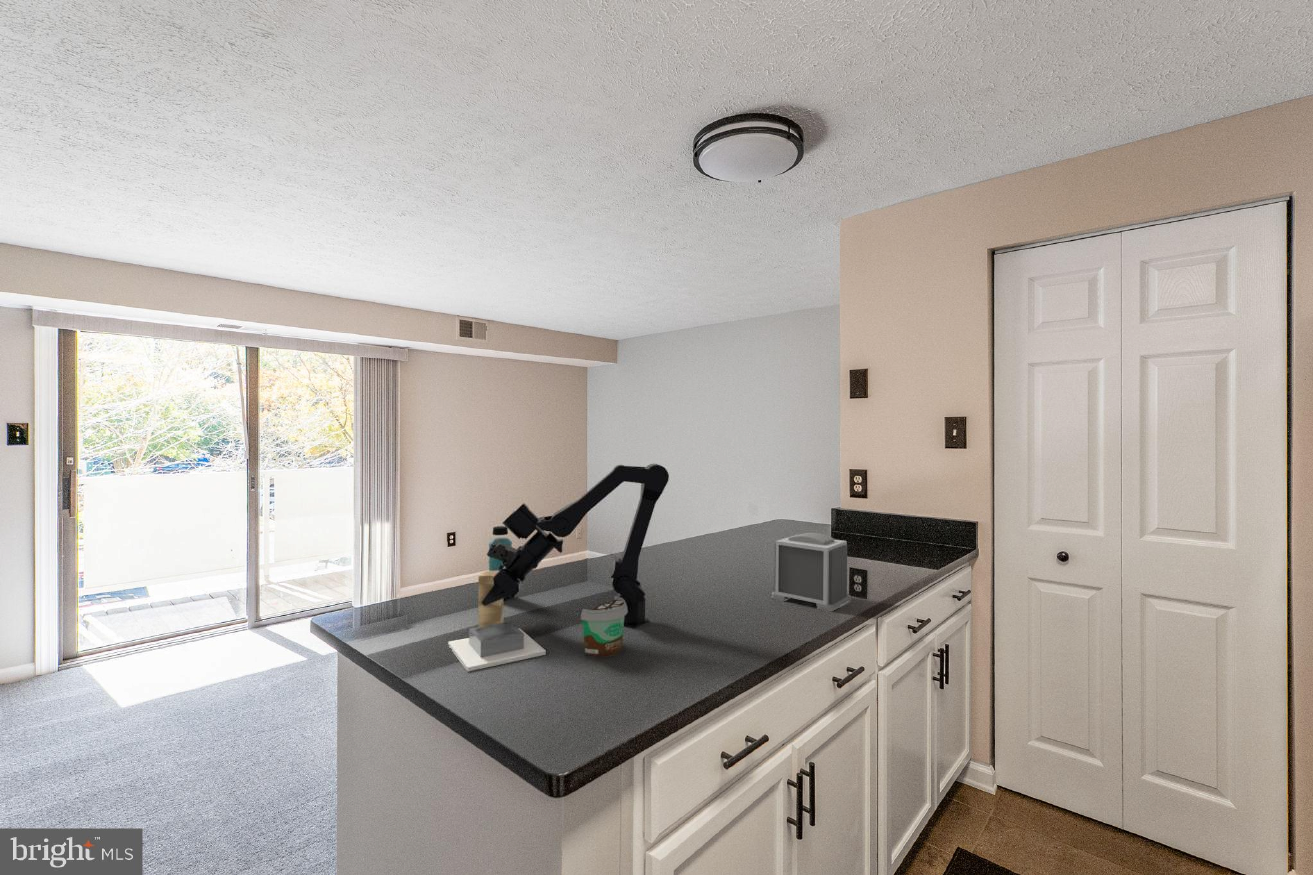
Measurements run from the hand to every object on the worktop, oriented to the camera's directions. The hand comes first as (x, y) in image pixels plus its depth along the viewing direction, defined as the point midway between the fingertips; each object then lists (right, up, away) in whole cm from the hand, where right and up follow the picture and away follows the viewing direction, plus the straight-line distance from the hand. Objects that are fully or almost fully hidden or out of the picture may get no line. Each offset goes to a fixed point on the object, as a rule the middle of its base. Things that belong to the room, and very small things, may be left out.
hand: (485, 600), depth 135 cm
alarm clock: (+84, -7, +24) cm, 87 cm away
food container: (+31, -7, -14) cm, 34 cm away
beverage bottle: (-3, -7, +25) cm, 26 cm away
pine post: (+1, -7, 0) cm, 7 cm away
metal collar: (+6, -7, -13) cm, 16 cm away
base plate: (+6, -7, -13) cm, 16 cm away
